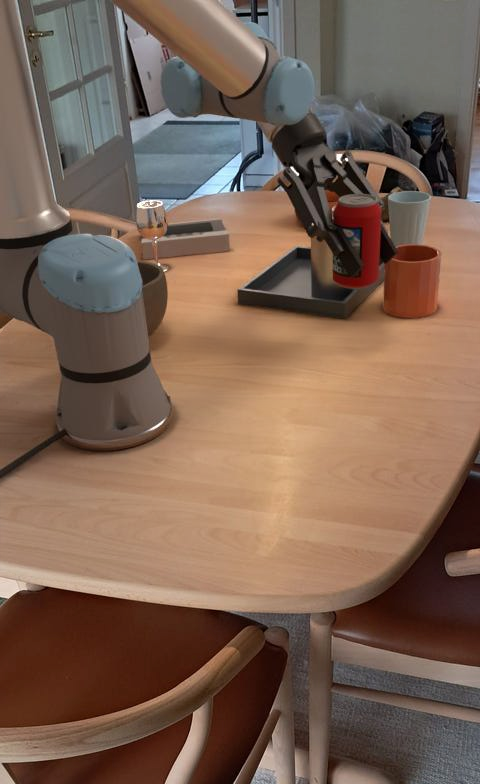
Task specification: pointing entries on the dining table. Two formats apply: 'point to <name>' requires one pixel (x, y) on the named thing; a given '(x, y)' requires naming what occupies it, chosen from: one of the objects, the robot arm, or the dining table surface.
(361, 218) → the beverage can
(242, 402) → the dining table surface
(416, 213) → the cup
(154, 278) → the bowl
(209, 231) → the rectangular box
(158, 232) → the wineglass
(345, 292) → the silver can
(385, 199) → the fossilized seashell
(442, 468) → the dining table surface
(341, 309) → the tray
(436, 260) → the terracotta mug
